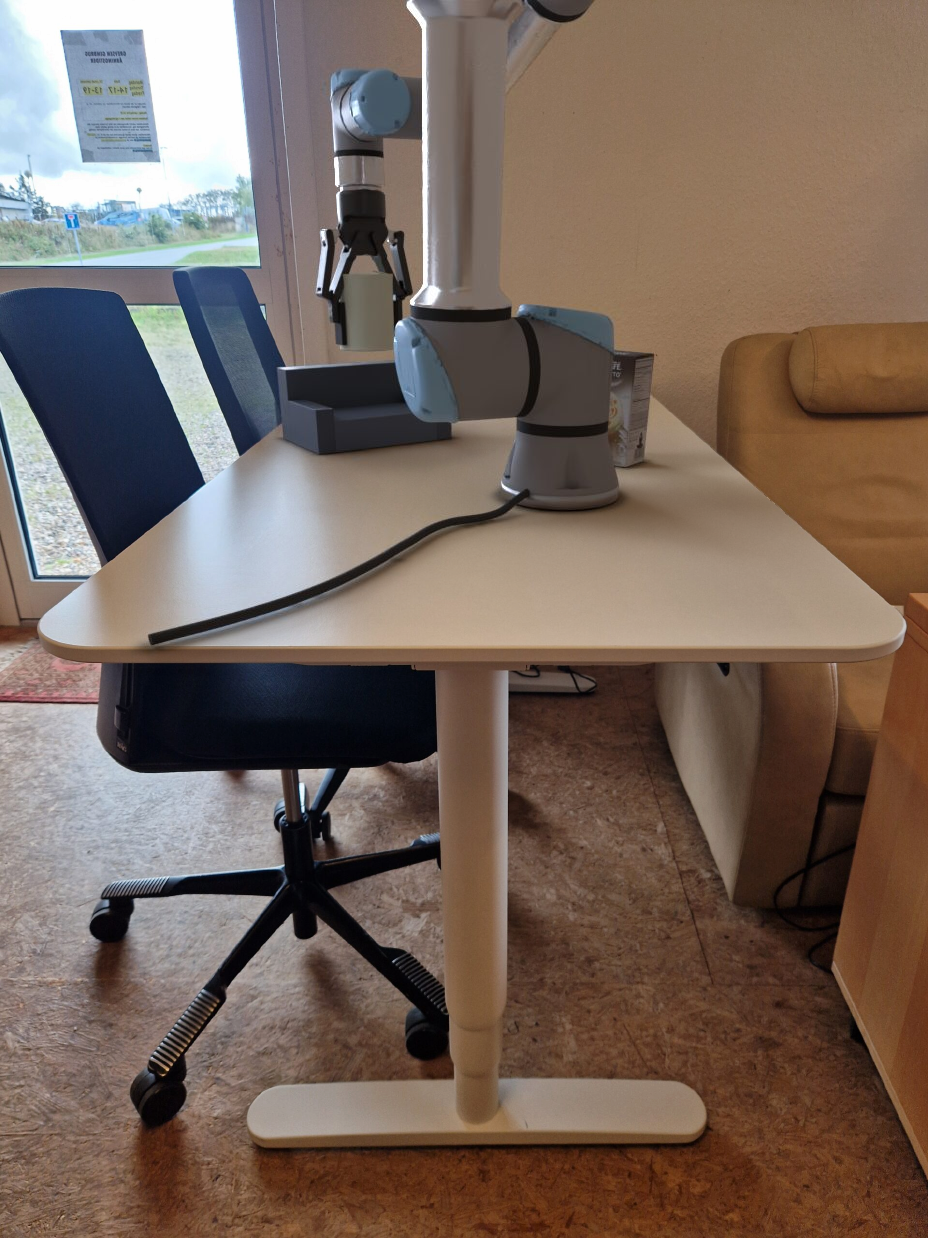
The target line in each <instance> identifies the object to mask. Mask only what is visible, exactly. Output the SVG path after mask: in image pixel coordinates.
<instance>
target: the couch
mask: <svg viewBox="0 0 928 1238" xmlns="http://www.w3.org/2000/svg"><path fill="white" fill-rule="evenodd" d="M276 371H277V372H276V373H277V383H278V394H279V406H280V413H281V414H280V416H281V428H282V437H283V439H284V440H285V441H288V442H290V443H292V444H295V445H297V446H299V447H302V448H303V449H306V450H307V451H310V452H313V453H314V454H317V455H325V454H327V455H328V454H335V453H342V452H351V451H357V450H367V449H368V450H369V449H376V448H383V447H391V446H400V445H408V444H416V443H426V442H433V441H440V440H449V439H452V433H453V432H452V425H453V424H452V423H449V422H425V421H422V420H420V419H419V418H417V417H416V416H415V415H414V414H413V413H412V411H411V410H410V408H409V407H408V405H407V403H406V400H405V398H404V395H403V393H402V390H401V386H400V383H399V379H398V375H397V370H396V364H395V359H389V360H388V359H387V360H374V361H373V360H372V361H358V362H344V363H343V362H342V363H327V364H311V365H296V366H280V367H276Z"/></svg>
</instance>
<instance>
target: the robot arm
mask: <svg viewBox="0 0 928 1238" xmlns="http://www.w3.org/2000/svg"><path fill="white" fill-rule="evenodd" d="M595 1H596V0H406V7H407V9H408V10H409V12H410V13H411V14H412V16H413V17H414V18H415V19H416V21H417V22H418V23H419V25H420V27H421V29H422V30H421V31H422V32H421V33H422V38H421V41H422V44H421V45H422V46H421V48H422V53H421V54H422V77H412V76H400V75H398V74H397V73H396V72H394V71H392V70H390V69H387V68H377V69H373V70H370V69H365V68H344V69H342V70H336V71H335V72H334V73H333V74H332V75H331V78H330V96H329V102H330V106H331V116H332V117H331V118H332V119H331V120H332V132H333V133H332V134H333V136H332V137H333V150H334V169H335V170H334V171H335V186H336V187H337V188H339V189H340V191H338V192H337V193H336V208H337V218H338V223H337V226H336V228H333V229H330V228H325V229H324V228H323V229H321V230H320V231H319V238H320V243H321V250H320V258H319V266H318V273H317V281H316V290H315V295H316V297H318V298H321V299H323V300H326V301H327V305H328V319H329V322H330V324H334V336H335V337H334V338H335V345H339V346H340V345H347V338H346V320H345V302H339V300H340V297H341V294H342V291H343V289H344V279H343V274H350V273H351V269H352V266H353V264H354V262H355V261H356V259H357V257H361V256H365V257H370V258H371V260H372V261H373V262H374V263H375V267H376V268H377V271H379V272H384V273H388V274H393V315H394V350H393V357H394V360H395V364H396V370H397V375H398V379H399V383H400V386H401V390H402V393H403V395H404V398H405V400H406V403H407V405H408V407H409V408H410V410H411V411H412V413H413V414H414V415H415V416H416V417H417V418H419V419H420V420H422V421H425V422H449V423H452V425H453V424H456V423H458V422H470V421H471V422H473V421H484V420H485V421H487V420H496V419H497V420H499V419H511V418H512V419H514V418H516V423H515V424H516V428H515V429H516V430H515V438H514V441H513V444H512V447H511V449H510V453H509V456H508V458H507V461H506V464H505V468H504V469H503V470H504V471H503V474H502V477H501V480H500V495H501V497H502V498H503V499H504V500H506V502H505V503H504V504H503V505H502V506H500V507H498V508H496V509H494V510H491V511H486V512H483V513H476V514H469V515H468V514H467V515H460V516H454V517H450V518H445V519H442V520H439V521H436V522H434V523H431V524H429V525H427V526H425V527H422V528H421V529H420V530H418V531H416V532H415V533H413V534H412V535H410V536H408V537H406V538H405V539H402V540H400V541H399V542H397V543H395V544H394V545H392V546H391V547H389V548H387V549H386V550H384V551H382V552H381V553H379V554H377V555H375V556H374V557H372V558H370V559H368V560H366V561H365V562H362V563H360V564H358V565H356V566H354V567H352V568H350V569H349V570H347V571H344V572H342V573H340V574H338V575H336V576H334V577H331V578H329V579H327V580H324V581H322V582H320V583H317V584H315V585H312V586H310V587H307V588H304V589H301V590H299V591H297V592H294V593H291V594H288V595H285V596H282V597H279V598H276V599H273V600H269V601H266V602H264V603H260V604H257V605H254V606H250V607H247V608H243V609H240V610H236V611H233V612H229V613H225V614H223V615H218V616H215V617H212V618H207V619H204V620H200V621H195V622H191V623H187V624H183V625H181V626H176V627H171V628H168V629H164V630H159V631H155V632H151V633H148V634H147V639H148V642H149V645H150V646H155V645H159V644H162V643H166V642H171V641H174V640H178V639H182V638H186V637H190V636H194V635H197V634H201V633H207V632H210V631H212V630H217V629H221V628H223V627H227V626H231V625H234V624H237V623H241V622H244V621H247V620H251V619H255V618H258V617H261V616H264V615H267V614H270V613H273V612H276V611H280V610H282V609H285V608H288V607H291V606H294V605H297V604H301V603H302V602H304V601H308V600H310V599H312V598H315V597H318V596H320V595H322V594H324V593H328V592H329V591H331V590H334V589H336V588H339V587H340V586H343V585H344V584H347V583H348V582H349V583H350V582H351V581H353V580H355V579H356V578H358V577H361V576H363V575H365V574H367V573H368V572H370V571H372V570H373V569H376V568H377V567H379V566H380V565H382V564H384V563H386V562H387V561H389V560H390V559H392V558H394V557H395V556H397V555H399V554H400V553H402V552H403V551H406V550H407V549H409V548H410V547H413V546H414V545H416V544H417V543H419V542H420V541H422V540H423V539H425V538H427V537H428V536H430V535H432V534H433V533H436V532H438V531H440V530H443V529H446V528H450V527H453V526H460V525H467V524H475V523H481V522H486V521H491V520H493V519H497V518H499V517H502V516H504V515H505V514H507V513H508V512H509V511H511V510H512V509H513V508H514V507H515V506H517V505H518V506H523V507H527V508H532V509H541V510H553V511H575V510H576V511H577V510H579V511H580V510H589V509H595V508H596V509H597V508H600V507H605V506H607V505H610V504H613V503H614V502H615V501H616V500H617V499H618V498H619V486H620V482H619V478H618V474H617V470H616V466H615V465H614V461H613V457H612V453H611V449H610V445H609V441H608V423H609V409H610V395H611V380H612V366H613V357H614V356H615V351H614V350H615V330H614V329H615V328H614V323H613V320H611V318H610V317H609V316H608V315H606V314H604V313H599V312H593V311H587V310H581V309H572V308H564V307H556V306H548V305H538V304H530V303H521V305H520V306H519V308H518V310H517V312H516V316H512V309H513V308H512V307H513V302H512V301H511V299H510V298H509V297H508V296H507V295H506V293H505V292H504V291H503V290H502V288H501V286H500V277H501V272H500V271H501V270H500V269H501V246H502V245H501V243H502V242H501V241H502V216H503V215H502V214H503V185H504V182H503V181H504V159H505V158H504V157H505V156H504V153H505V124H506V122H505V121H506V99H507V98H506V97H507V96H508V95H509V93H510V92H511V91H512V89H514V87H515V86H516V85H517V83H518V82H519V81H520V79H522V77H523V76H524V74H525V73H526V72H527V71H528V70H529V69H530V67H531V66H532V65H533V63H534V62H535V61H536V59H537V58H538V57H539V55H540V54H541V53H542V52H543V50H545V48H546V47H547V46H548V44H549V43H550V42H551V40H553V39H554V37H555V35H556V34H557V33H558V32H559V31H560V29H561V28H562V27H563V26H564V25H567V24H571V23H573V22H576V21H577V20H579V19H580V18H582V17H583V16H584V14H585V13H586V12H587V11H588V9H590V7H592V4H593V3H594V2H595ZM384 139H393V140H414V141H416V140H417V141H422V229H423V230H422V232H423V233H422V241H423V244H422V245H423V246H422V250H423V251H422V253H423V263H422V264H423V267H422V269H423V272H422V273H423V276H422V277H423V284H422V286H421V288H420V289H419V290H418V291H417V292H416V293H415V294H414V289H413V286H412V285H413V284H412V281H411V276H410V271H409V267H408V266H409V265H408V261H407V256H406V252H405V248H404V246H405V245H404V244H405V232H404V231H403V230H391V229H389V228H388V226H387V224H386V223H387V222H386V218H387V209H386V208H387V205H386V202H387V201H386V194H385V192H384V191H382V189H384V188H385V187H386V178H385V175H386V174H385V159H384V158H385V157H384V155H385V154H384ZM338 239H339V240H340V241H341V243H342V244H343V246H342V249H341V252H340V255H339V257H340V259H339V261H338V264H337V266H336V270H335V272H334V275H333V267H334V259H335V251H336V244H337V242H338ZM386 240H387V243H388V244H389V247H390V248H389V249H390V254H391V259H392V262H393V263H392V264H393V268H394V270H393V268H392V266H391V264H390V261H389V259H388V254H387V251H386V249H385V247H384V244H385V242H386ZM332 275H333V278H332ZM413 294H414V295H413ZM412 295H413V297H412V298H411V299H410V301H409V302H410V303H409V315H410V316H409V317H404V315H403V310H404V309H403V301H405V299H406V298H407V297H411V296H412ZM403 317H404V318H403Z"/></svg>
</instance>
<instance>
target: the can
mask: <svg viewBox="0 0 928 1238" xmlns="http://www.w3.org/2000/svg"><path fill="white" fill-rule="evenodd" d="M343 279H344V289H343V291H342V294H341V297H340V300H339V302H345V320H346V338H347V345H339V349H340V350H341V351H344V352H345V351H346V352H347V351H348V352H360V353H361V352H364V353H365V352H366V353H367V352H386V351H388V352H389V351H394V315H393V274H388V273H384V272H379V270H372V273H349V274H343Z"/></svg>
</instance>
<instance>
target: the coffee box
mask: <svg viewBox="0 0 928 1238" xmlns="http://www.w3.org/2000/svg"><path fill="white" fill-rule="evenodd" d="M614 351H615V356H614V357H613V366H612V380H611V395H610V409H609V423H608V441H609V445H610V449H611V453H612V457H613V461H614V465H615V467H621V468H627V467H631V466H634V465H636V464H638V463H641V462H643V461H645V453H646V442H647V434H648V423H649V413H650V405H651V404H650V403H651V392H652V384H653V383H652V382H653V372H654V363H655V353H652V352H642V351H641V352H640V351H630V350H619V349H614Z"/></svg>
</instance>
